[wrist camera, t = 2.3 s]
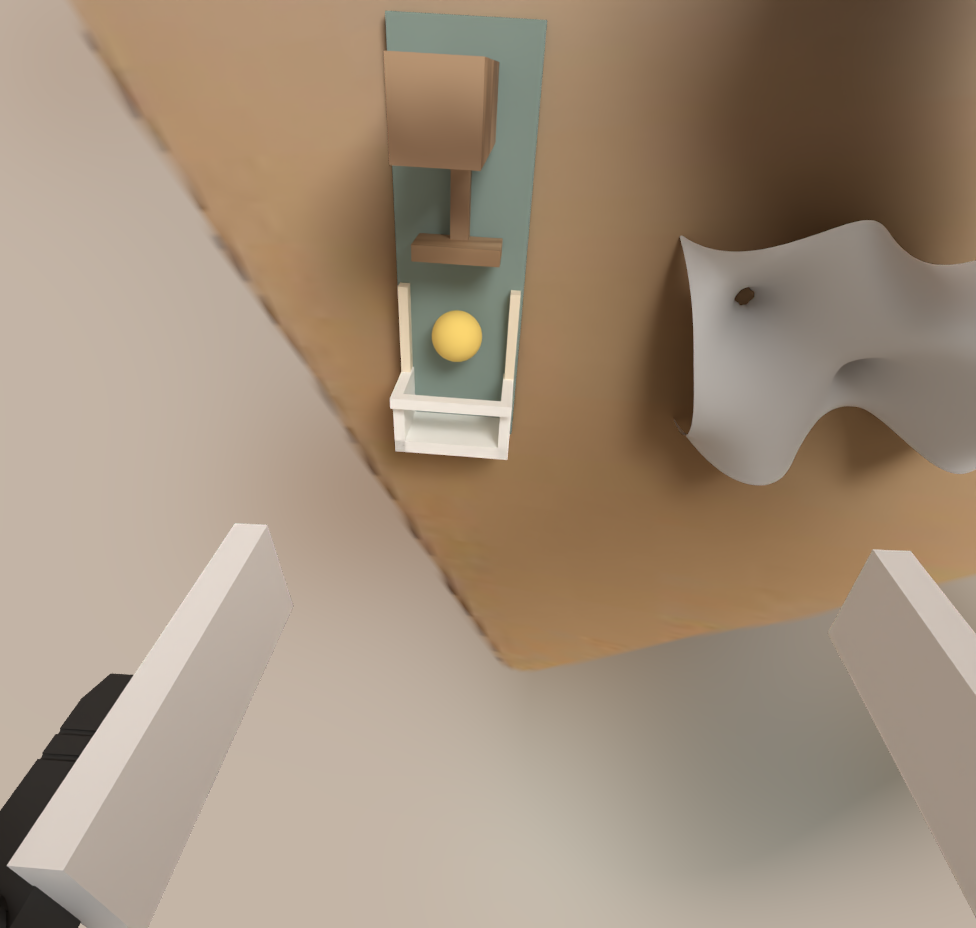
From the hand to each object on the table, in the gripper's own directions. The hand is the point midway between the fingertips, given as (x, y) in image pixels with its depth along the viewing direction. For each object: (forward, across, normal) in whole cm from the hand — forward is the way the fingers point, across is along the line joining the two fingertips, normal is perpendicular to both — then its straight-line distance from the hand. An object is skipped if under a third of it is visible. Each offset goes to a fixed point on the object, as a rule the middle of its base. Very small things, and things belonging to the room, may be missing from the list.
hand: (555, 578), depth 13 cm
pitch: (+31, -6, -1) cm, 31 cm away
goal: (+30, -6, -12) cm, 33 cm away
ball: (+28, -6, -6) cm, 30 cm away
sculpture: (+31, +23, -6) cm, 39 cm away
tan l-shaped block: (+31, -5, +8) cm, 32 cm away
